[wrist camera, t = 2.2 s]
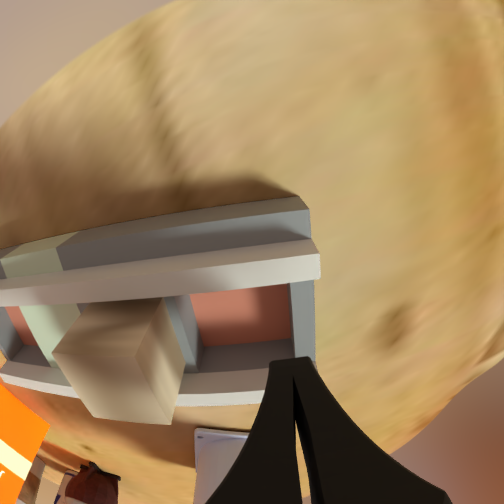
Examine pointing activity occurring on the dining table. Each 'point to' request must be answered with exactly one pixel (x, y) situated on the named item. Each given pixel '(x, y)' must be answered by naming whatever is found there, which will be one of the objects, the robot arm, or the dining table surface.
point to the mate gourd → (92, 487)
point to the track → (172, 294)
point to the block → (124, 360)
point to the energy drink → (64, 486)
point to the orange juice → (17, 444)
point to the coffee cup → (31, 483)
